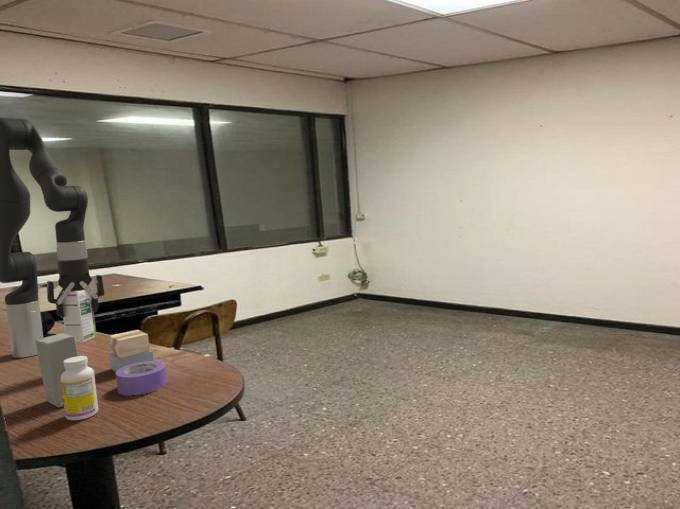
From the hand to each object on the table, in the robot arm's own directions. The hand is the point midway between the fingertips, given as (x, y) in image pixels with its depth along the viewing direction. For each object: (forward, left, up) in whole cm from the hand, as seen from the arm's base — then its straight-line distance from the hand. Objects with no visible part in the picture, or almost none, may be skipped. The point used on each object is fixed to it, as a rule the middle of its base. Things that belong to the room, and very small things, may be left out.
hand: (78, 314), depth 146 cm
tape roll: (+28, +7, -17) cm, 33 cm away
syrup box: (0, 0, -8) cm, 8 cm away
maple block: (+10, +10, -11) cm, 18 cm away
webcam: (-52, -1, -16) cm, 54 cm away
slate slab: (+10, +10, -16) cm, 22 cm away
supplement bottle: (+36, -9, -16) cm, 41 cm away
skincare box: (+23, -10, -16) cm, 30 cm away
